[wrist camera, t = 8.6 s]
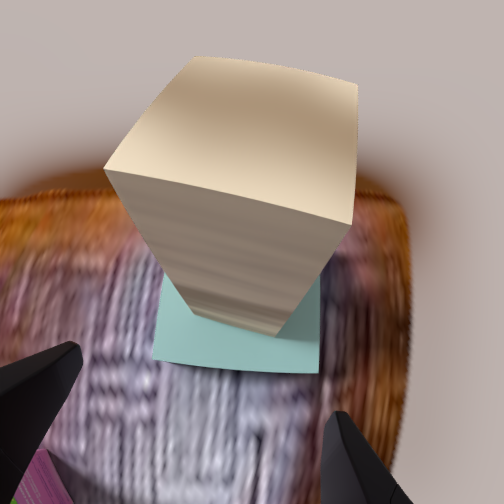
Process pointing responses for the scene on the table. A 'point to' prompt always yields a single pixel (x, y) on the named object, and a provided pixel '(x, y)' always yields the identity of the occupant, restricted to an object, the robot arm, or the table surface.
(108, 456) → the table surface
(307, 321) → the base block
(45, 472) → the box
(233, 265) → the pillar
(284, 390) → the table surface
